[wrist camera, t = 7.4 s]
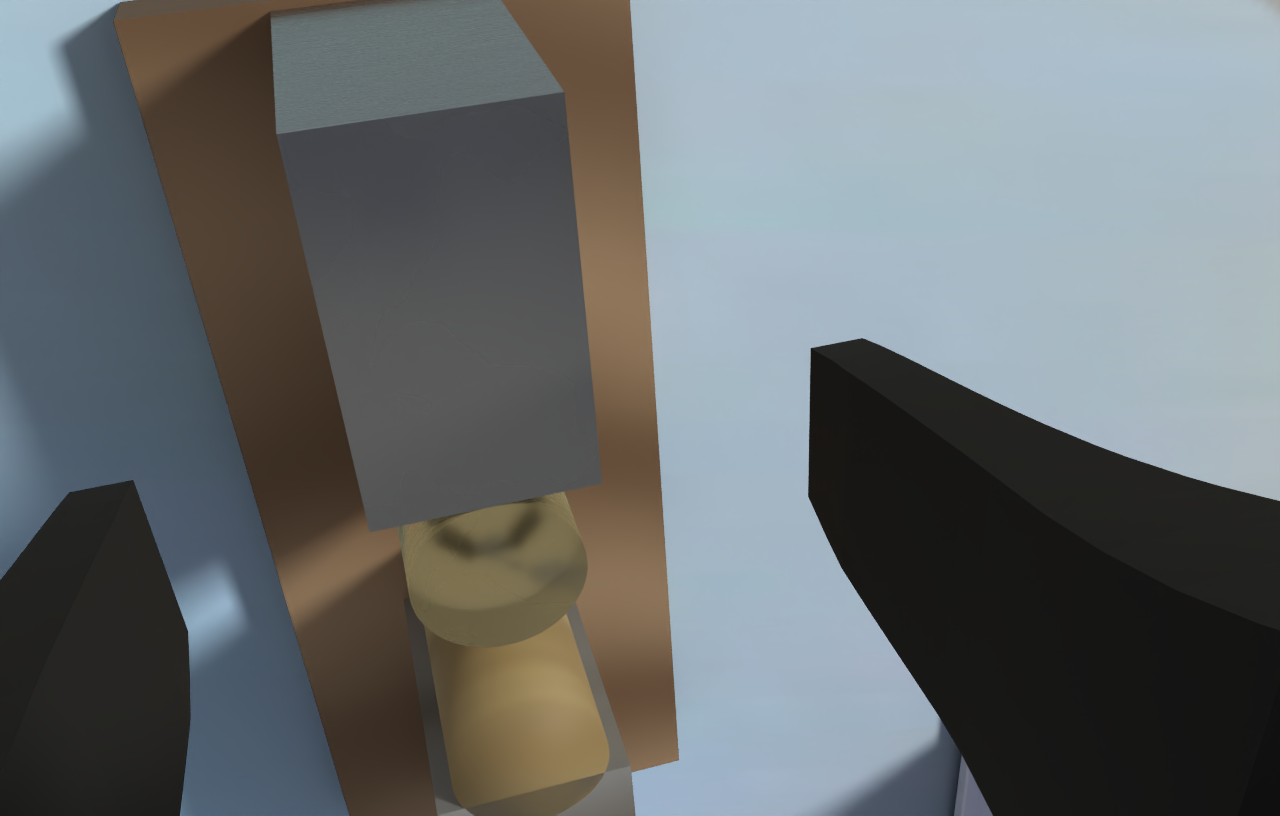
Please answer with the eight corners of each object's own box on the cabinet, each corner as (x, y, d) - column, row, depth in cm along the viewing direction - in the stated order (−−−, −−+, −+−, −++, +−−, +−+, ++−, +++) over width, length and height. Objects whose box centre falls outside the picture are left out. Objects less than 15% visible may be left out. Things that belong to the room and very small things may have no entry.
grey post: (545, 430, 21) (615, 620, 17) (372, 465, 21) (401, 668, 16) (489, -17, 17) (564, 91, 13) (270, 10, 16) (276, 134, 12)
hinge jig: (666, 726, 27) (756, 962, 22) (354, 805, 26) (377, 1074, 21) (609, -59, 18) (743, 52, 13) (119, 2, 17) (65, 152, 12)
